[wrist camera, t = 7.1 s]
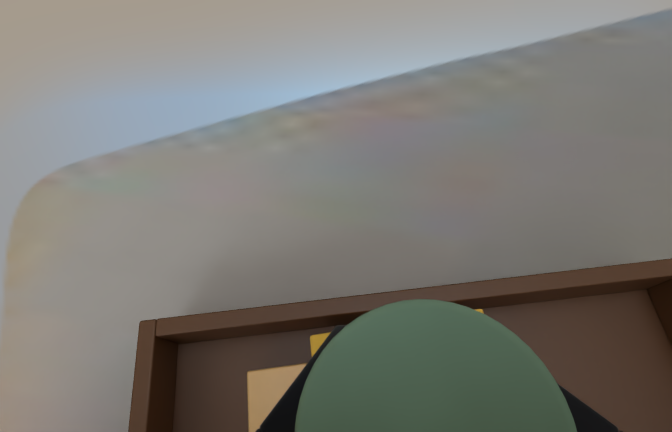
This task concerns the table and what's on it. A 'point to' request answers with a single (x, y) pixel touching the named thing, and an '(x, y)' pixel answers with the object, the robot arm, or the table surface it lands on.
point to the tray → (490, 295)
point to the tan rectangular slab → (268, 390)
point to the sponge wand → (429, 376)
